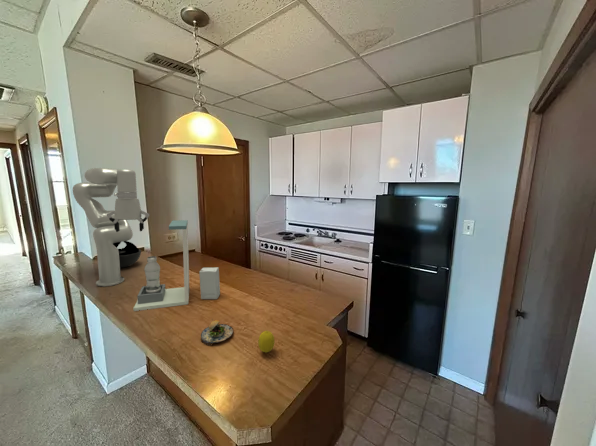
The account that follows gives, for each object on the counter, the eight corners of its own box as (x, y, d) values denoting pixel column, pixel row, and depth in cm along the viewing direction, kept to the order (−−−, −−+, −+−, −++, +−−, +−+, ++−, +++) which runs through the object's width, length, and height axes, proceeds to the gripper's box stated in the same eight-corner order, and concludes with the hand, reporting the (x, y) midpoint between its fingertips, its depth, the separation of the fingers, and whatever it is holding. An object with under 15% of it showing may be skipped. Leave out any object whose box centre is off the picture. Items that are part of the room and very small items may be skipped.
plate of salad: (210, 351, 86) (209, 331, 85) (194, 336, 94) (194, 317, 93) (239, 336, 94) (239, 318, 93) (223, 324, 102) (223, 307, 101)
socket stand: (141, 294, 126) (137, 220, 120) (189, 289, 134) (187, 220, 128) (133, 311, 109) (128, 227, 104) (188, 304, 117) (186, 225, 112)
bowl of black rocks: (109, 263, 169) (107, 236, 166) (143, 260, 178) (142, 235, 175) (100, 273, 151) (98, 243, 148) (139, 269, 160) (137, 241, 157)
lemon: (258, 347, 88) (258, 326, 87) (274, 347, 89) (274, 326, 88) (257, 358, 83) (257, 335, 82) (274, 357, 83) (274, 335, 82)
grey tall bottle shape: (154, 301, 116) (152, 259, 113) (142, 299, 117) (140, 258, 114) (164, 295, 122) (163, 256, 119) (153, 293, 123) (151, 254, 120)
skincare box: (220, 294, 129) (219, 267, 127) (216, 299, 123) (216, 271, 121) (203, 294, 129) (203, 266, 126) (199, 299, 123) (199, 270, 120)
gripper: (102, 195, 112) (105, 233, 115) (146, 196, 119) (148, 231, 121) (108, 195, 119) (110, 230, 121) (149, 195, 125) (151, 229, 128)
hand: (129, 231), depth 121 cm, fingers open, 9 cm apart
